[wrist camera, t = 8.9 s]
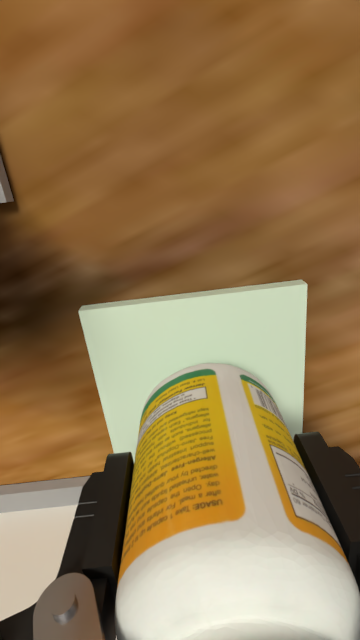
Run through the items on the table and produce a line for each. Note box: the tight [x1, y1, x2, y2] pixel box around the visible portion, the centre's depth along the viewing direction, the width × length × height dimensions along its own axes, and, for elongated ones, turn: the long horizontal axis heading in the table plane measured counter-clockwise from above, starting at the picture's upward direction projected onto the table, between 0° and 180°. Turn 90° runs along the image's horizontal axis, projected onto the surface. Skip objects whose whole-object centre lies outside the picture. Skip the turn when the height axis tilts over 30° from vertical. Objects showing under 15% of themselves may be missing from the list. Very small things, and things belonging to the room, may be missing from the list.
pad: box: [78, 280, 307, 462], centre depth 15 cm, size 9×9×1 cm
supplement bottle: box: [115, 363, 360, 640], centre depth 9 cm, size 5×5×10 cm
